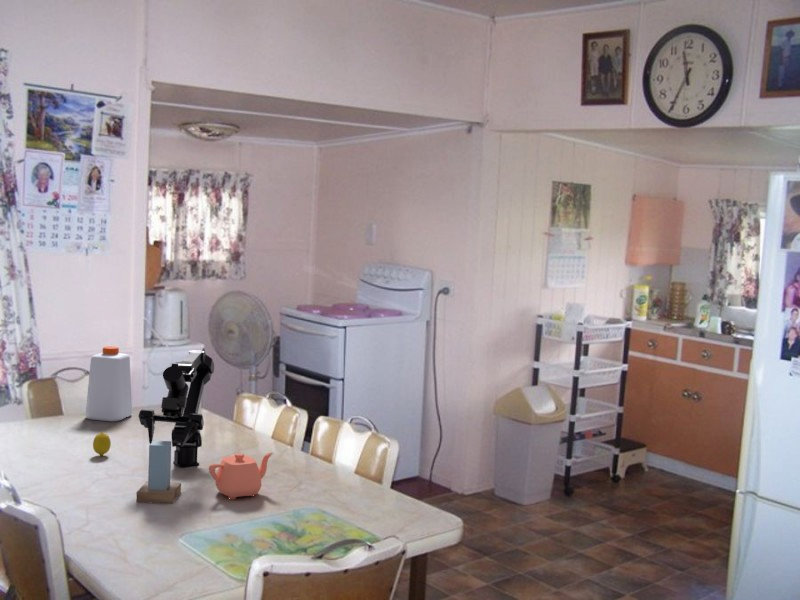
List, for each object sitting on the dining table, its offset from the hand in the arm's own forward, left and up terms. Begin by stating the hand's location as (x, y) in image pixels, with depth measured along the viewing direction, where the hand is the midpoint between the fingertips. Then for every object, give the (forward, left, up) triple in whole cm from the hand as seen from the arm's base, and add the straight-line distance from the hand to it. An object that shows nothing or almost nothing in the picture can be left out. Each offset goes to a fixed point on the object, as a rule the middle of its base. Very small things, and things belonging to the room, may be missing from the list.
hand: (165, 444), depth 245 cm
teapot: (-17, +15, -14) cm, 27 cm away
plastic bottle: (-17, -93, -14) cm, 95 cm away
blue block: (+5, +7, -10) cm, 13 cm away
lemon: (+4, -42, -14) cm, 44 cm away
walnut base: (+5, +7, -13) cm, 16 cm away
